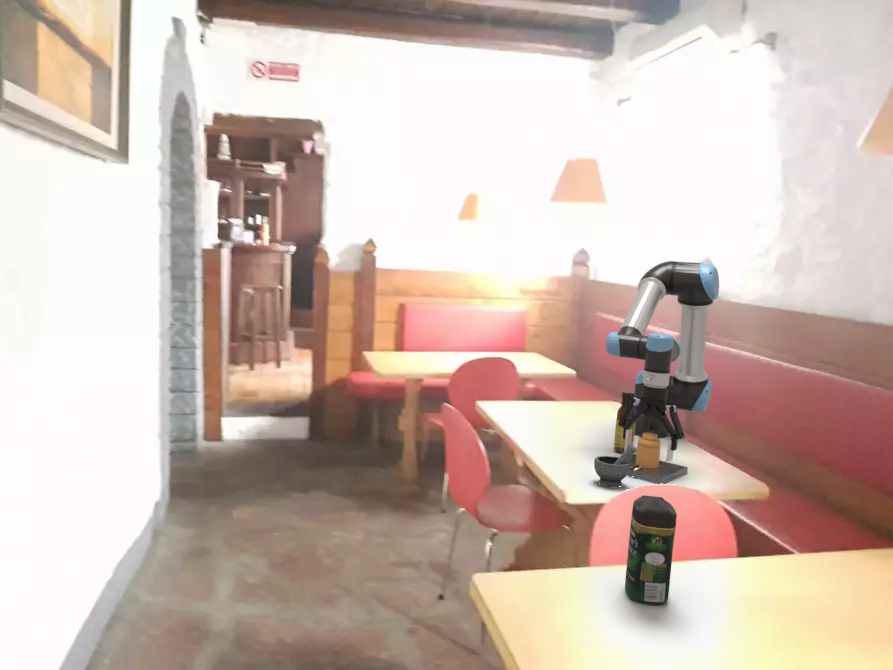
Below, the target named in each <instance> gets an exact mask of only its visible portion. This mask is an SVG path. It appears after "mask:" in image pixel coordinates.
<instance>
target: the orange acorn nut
mask: <svg viewBox="0 0 893 670" xmlns="http://www.w3.org/2000/svg"><path fill="white" fill-rule="evenodd" d="M636 444H637V446H636V449H637V451H636V452H635V453H636V463H635V464H637V465H639V466H643V467H644V468H657V467H658V466H659V460H660V456H661V455H660V454H661V439H660V438H659V437H658V435H657V434H654V433H648V432H645V433H643V434H642V436H639V437H638V441H637V443H636Z"/></svg>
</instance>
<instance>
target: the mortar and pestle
mask: <svg viewBox="0 0 893 670" xmlns="http://www.w3.org/2000/svg"><path fill="white" fill-rule="evenodd" d="M635 453H637V447H636V446H635V445H634V444H633V445H631V444H629V445H628V447H627V449H626V450H625V451H624V452H623V453H621V455H619V456H612V455H611V456H609V455H598V456H596V457H595V458H594V461H593V464H594V466H593V467H594V471H595V473H596V475H597V476H598V477H599V480H598V484H599V483H600V484H601V485H600V484H599V485H600V486H602V485H603V487H605V486H606V487H605V488H610V487H619V486H621V485H622V481H623V480H624V479H625V478H626V477H627V474H628V473H629V470H630V464H631V463H630V462H629V460H630V459H631V457H632V455H633V454H635ZM621 487H622V486H621Z"/></svg>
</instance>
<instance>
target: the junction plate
mask: <svg viewBox="0 0 893 670" xmlns="http://www.w3.org/2000/svg"><path fill="white" fill-rule="evenodd" d="M629 462H630V463H631V464H630V470H629V473H628V474H627V475H630V476H634V477H637V478H636V479H638V478H640V479H639V480H641V479H643V480H642V481H645V480H646V482H649V483H654V484H656V483H664V484H667V483H669V482H671V481H673V480H675V479H678V478H681V477H682V476H685V475H687V474H688V469H689V468H688V466H685V465H680V464H676V463H672V462H668V461H664V460H661V459H659V466H658V467H657V468H644V467H643V466H639V465H637V464H635V463H636V454H635V453H634V454H633V455H632V457H631V459H630V460H629ZM630 476H629V477H630ZM634 477H633V478H634Z"/></svg>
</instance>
